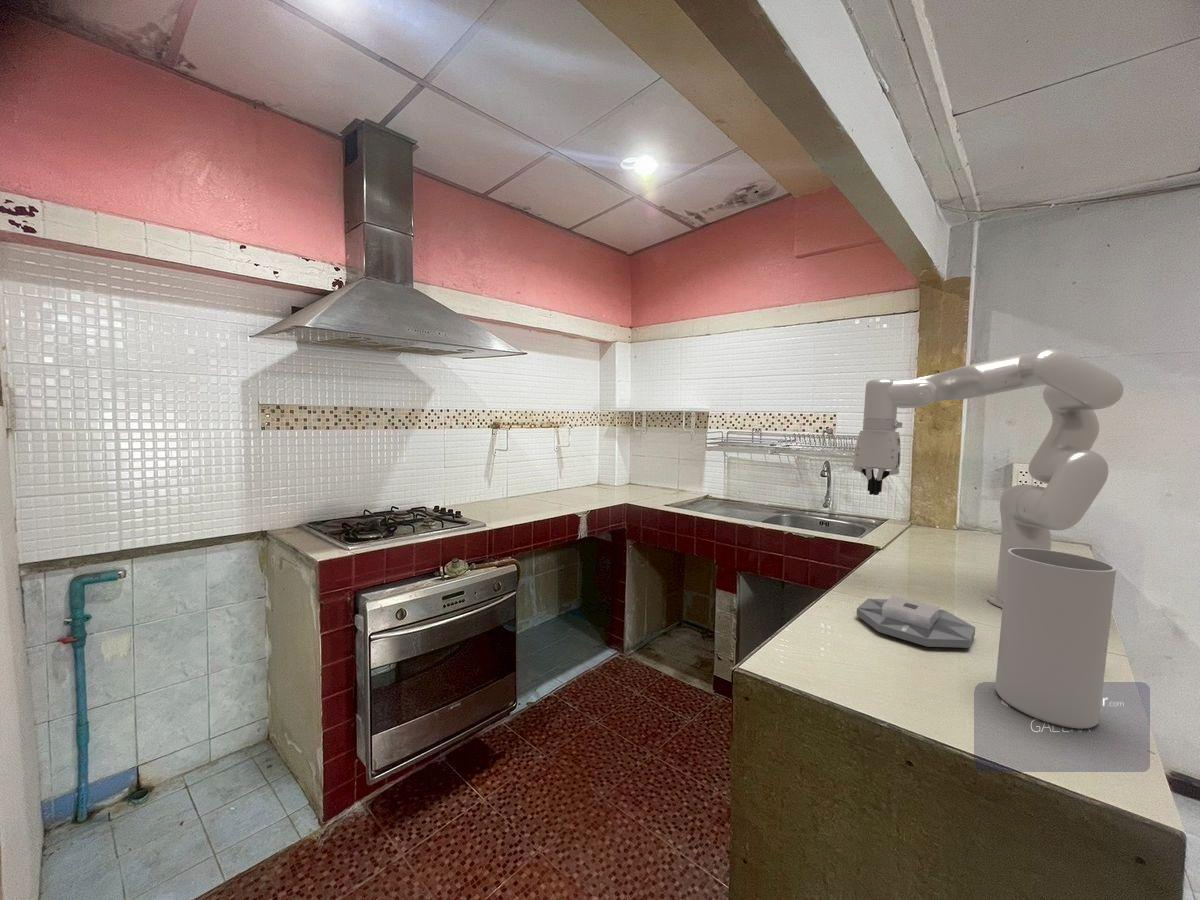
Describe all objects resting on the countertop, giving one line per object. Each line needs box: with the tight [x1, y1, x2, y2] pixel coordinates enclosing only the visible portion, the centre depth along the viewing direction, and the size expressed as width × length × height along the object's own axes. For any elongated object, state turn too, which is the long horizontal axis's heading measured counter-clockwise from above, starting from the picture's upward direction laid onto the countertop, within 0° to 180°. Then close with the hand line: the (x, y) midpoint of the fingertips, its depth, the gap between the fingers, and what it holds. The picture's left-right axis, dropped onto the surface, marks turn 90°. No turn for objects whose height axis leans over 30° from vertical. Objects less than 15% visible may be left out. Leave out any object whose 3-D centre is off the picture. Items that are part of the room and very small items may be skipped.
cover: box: [882, 595, 940, 629], centre depth 106 cm, size 9×9×3 cm
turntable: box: [856, 598, 976, 649], centre depth 106 cm, size 21×21×2 cm
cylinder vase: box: [994, 548, 1117, 730], centre depth 77 cm, size 12×12×25 cm
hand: (874, 494), depth 126 cm, fingers closed
